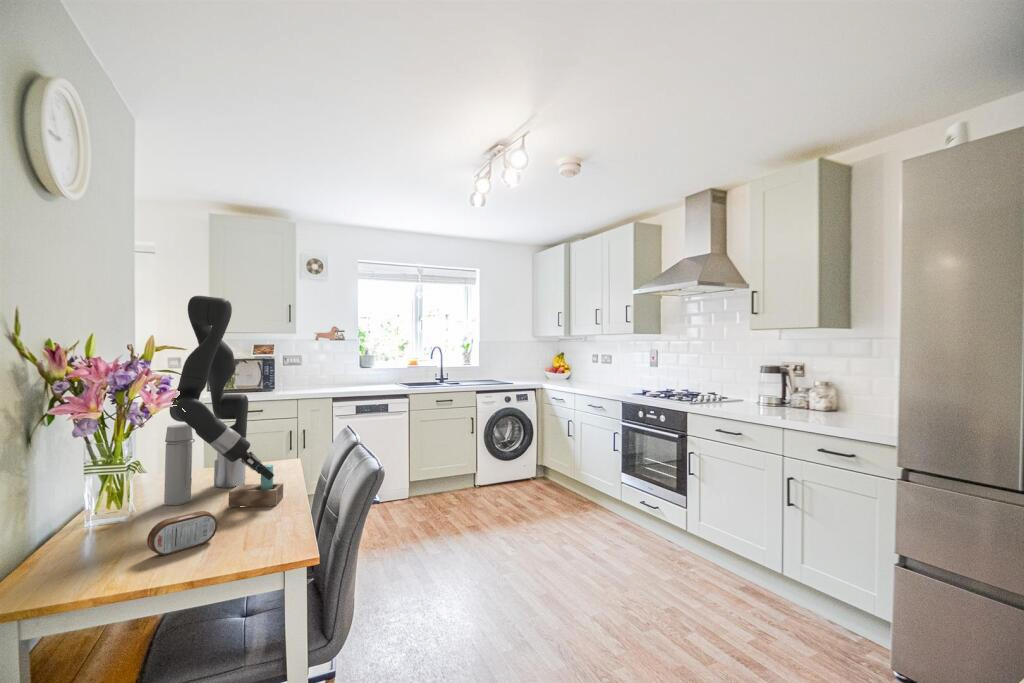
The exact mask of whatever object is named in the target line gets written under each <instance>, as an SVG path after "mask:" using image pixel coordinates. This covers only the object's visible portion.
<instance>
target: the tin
mask: <svg viewBox="0 0 1024 683" xmlns="http://www.w3.org/2000/svg"><path fill="white" fill-rule="evenodd" d="M218 525H219V524H218V519H217V518H216V516H214V515H213V514H212V513H211V512H209V511H206V510H200V511H196V512H195V511H194V512H191V513H187V514H183V515H179V516H173V517H169V518H165V519H163V520H160V522H157V524H155V525H154V526H153V527H152V528H151V530H150V531H149V532H148V535H147V539H146V543H147V547H148V548H149V549H150V551H152V552H154V553H155V554H157V555H161V556H167V555H166V554H168V555H171V553H172V554H175V553H178V551H179V552H181V551H185V549H186V550H189V549H192V548H196V547H199V545H200V546H203V545H205V544H207V543H208V542H209V541H210V540H212V538H213V537H214V536H215V535H216V533H217V531H218ZM174 552H175V553H174Z"/></svg>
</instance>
